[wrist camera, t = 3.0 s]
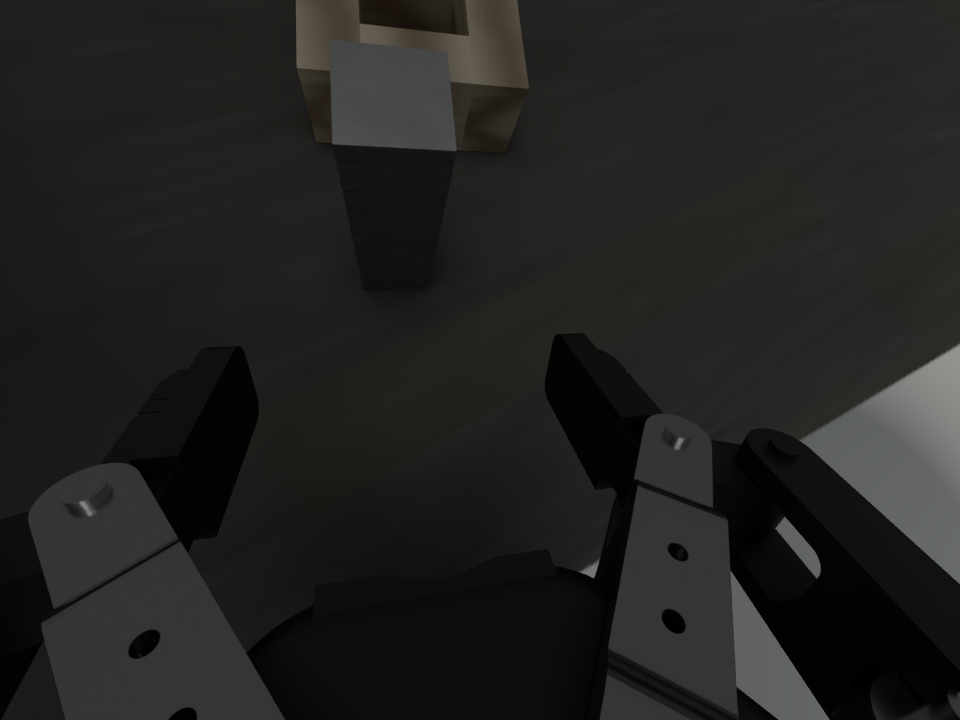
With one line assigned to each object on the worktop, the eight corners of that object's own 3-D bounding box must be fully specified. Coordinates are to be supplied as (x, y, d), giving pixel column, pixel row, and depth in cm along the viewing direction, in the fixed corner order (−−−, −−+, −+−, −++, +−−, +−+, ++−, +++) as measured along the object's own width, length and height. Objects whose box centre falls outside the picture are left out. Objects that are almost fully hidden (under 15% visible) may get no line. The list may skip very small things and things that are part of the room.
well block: (316, 142, 29) (296, 67, 23) (313, -16, 32) (294, -118, 26) (505, 152, 32) (528, 88, 26) (487, 7, 35) (505, -81, 29)
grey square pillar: (363, 290, 28) (332, 144, 14) (361, 230, 28) (329, 39, 15) (428, 289, 29) (456, 150, 15) (424, 231, 29) (447, 52, 16)
